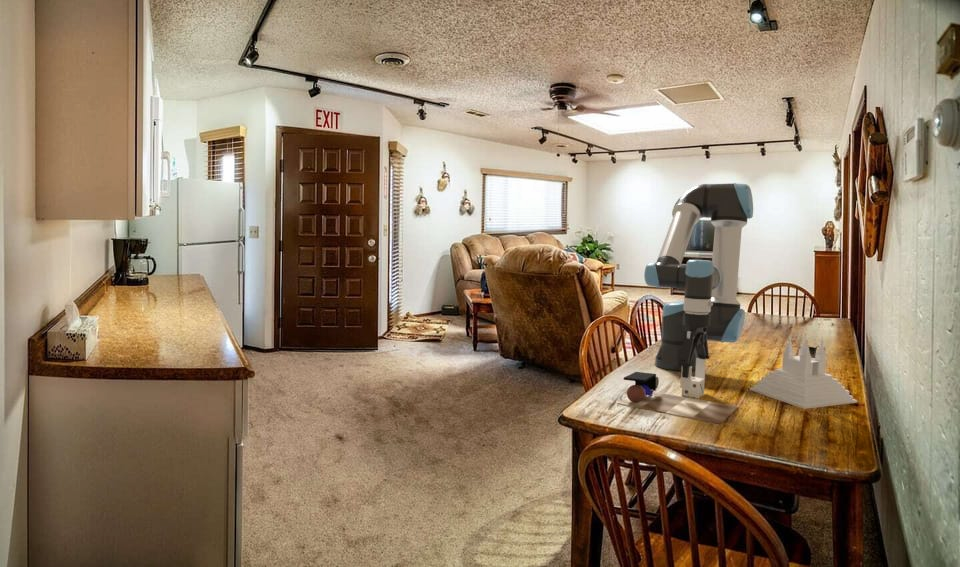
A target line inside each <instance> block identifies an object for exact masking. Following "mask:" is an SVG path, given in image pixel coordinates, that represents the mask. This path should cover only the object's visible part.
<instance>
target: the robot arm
mask: <svg viewBox="0 0 960 567" xmlns="http://www.w3.org/2000/svg"><path fill="white" fill-rule="evenodd" d="M671 214H672V215H671V216H672V220H671V221H670V222H671V223H670V224H669V227H668V230H667V233H666V235H665V239H664V241H663V244H662V246H661V249H660V252H659V255H658V256H657V259H656V262H649V263H648V264H646V266H645V269H644V281H645V284H646V286H649V287H655V288H666V289H668V288H669V289H679V290H680V289H681V290H684V297H683V300H679V301H671V302H667V303H665V304H664V305H663V307H662V315H661V318H662V319H661V336H660V337H661V338H660V339H661V340H660V341H661V342H660V346H659V348H658V351H657V353H656V356H655V360H654V365H655V366H656V367H658V368H661V369H666V370H670V371H671V370H672V371H680V372H681V373H680V389H682V388H684V389H691V376H693V374H692V373H693V372H695V373H694V377H698V378H704V379H705V380H706V365H707V364H706V363H707V360H710V355H709V344H708V341H710V342H716V343H717V342H719V343H729V344H731V343H733V344H734V343H736V342H737V341H739V339H740V337H741V335H742V331H743V328H744V324H745V318H746V317H745V316H746V313H745V312H746V311H745V310H744V308H741V302H739V300H738V299H737V295H738V294H737V293H738V278H739V266H740V254H741V244H742V243H741V242H742V231H743V228H744V227H746V226H747V225H748V220H750V219H752V218H753V217H754V216H753V215H754V201H753V194H752V189H751V187H750V186H749V185H748V184H746V183H736V182H734V183H702V184H698V185H696V186H694V187H692V188H690V189H688V190H687V191H686V192H684V193H682V195H680V197H679V198H678V199H677V201H676V202H675V204H674V205H673V208H672V211H671ZM701 218H706V219H709V218H710V223H711V225H712V227H714V233H713V234H714V235H713V237H714V238H713V247H712V248H713V249H712V260H708V259H707V260H706V259H688V261H686V264H682V262H683V260H684V257H685V254H686V250H687V248H688V244H689V242H690V239H691V237H692V234H693V230H694V228H695V225H696V224H697V223H699V221H700V220H701Z"/></svg>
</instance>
